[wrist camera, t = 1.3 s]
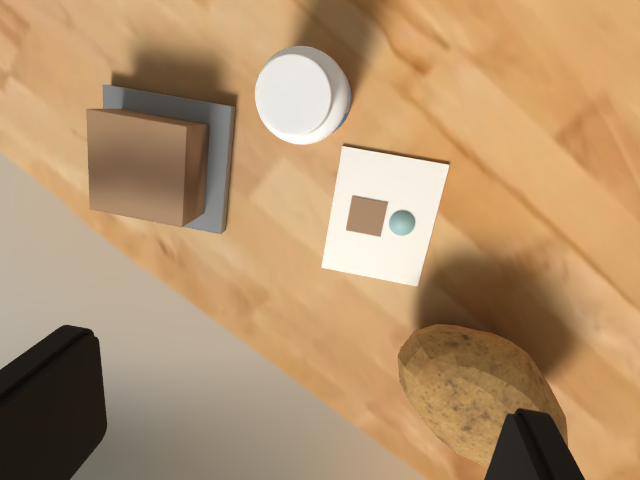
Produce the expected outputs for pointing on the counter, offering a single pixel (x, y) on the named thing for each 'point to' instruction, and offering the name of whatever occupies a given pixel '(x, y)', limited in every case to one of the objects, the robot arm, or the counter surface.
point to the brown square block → (147, 165)
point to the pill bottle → (302, 95)
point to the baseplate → (219, 141)
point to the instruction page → (383, 215)
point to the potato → (472, 386)
